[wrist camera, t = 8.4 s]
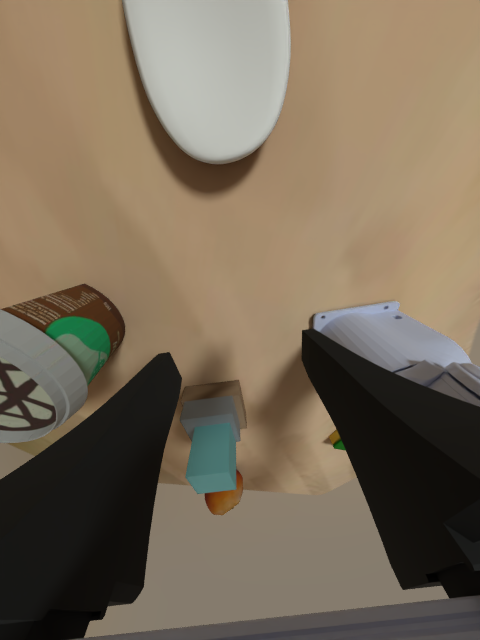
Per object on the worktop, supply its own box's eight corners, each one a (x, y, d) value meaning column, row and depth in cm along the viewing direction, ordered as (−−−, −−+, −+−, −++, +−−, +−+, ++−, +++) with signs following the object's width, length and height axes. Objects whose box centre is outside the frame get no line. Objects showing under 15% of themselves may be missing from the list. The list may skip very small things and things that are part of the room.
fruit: (200, 467, 35) (218, 518, 30) (233, 447, 40) (253, 488, 35) (195, 483, 39) (210, 531, 34) (225, 464, 44) (242, 503, 38)
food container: (122, 372, 24) (58, 459, 15) (71, 355, 22) (-34, 442, 13) (149, 299, 19) (78, 367, 10) (86, 270, 17) (-64, 321, 8)
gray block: (232, 395, 23) (232, 413, 21) (239, 423, 26) (240, 441, 24) (184, 401, 24) (179, 420, 21) (197, 428, 27) (194, 446, 25)
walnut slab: (238, 377, 26) (239, 394, 23) (245, 409, 30) (246, 428, 27) (186, 384, 26) (180, 402, 24) (199, 415, 30) (196, 434, 28)
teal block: (229, 422, 22) (228, 472, 18) (235, 441, 24) (236, 489, 20) (194, 427, 22) (185, 477, 18) (204, 445, 24) (197, 493, 20)
